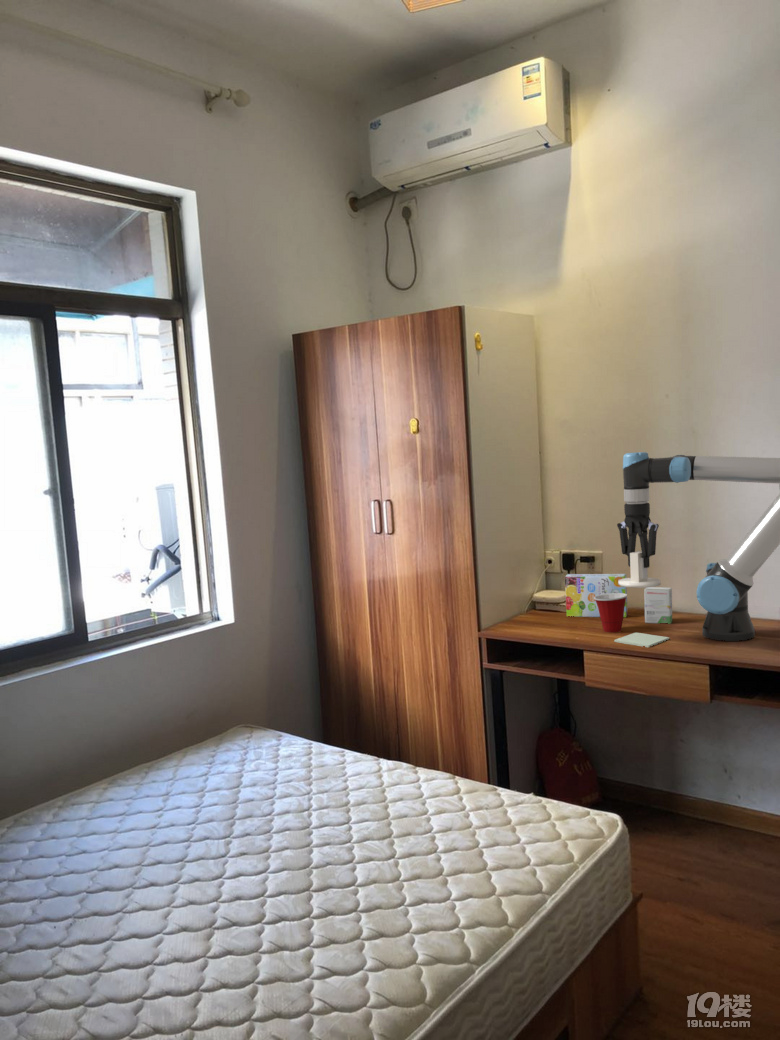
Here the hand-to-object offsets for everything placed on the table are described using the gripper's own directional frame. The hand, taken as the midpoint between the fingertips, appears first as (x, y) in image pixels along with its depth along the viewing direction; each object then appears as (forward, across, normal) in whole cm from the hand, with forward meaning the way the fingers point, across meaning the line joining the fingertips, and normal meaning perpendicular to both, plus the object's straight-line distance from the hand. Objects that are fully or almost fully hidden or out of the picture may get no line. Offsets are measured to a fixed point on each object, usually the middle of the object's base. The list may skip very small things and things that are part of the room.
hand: (639, 577), depth 254 cm
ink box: (+20, +9, -25) cm, 33 cm away
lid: (+2, 0, 0) cm, 2 cm away
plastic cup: (+20, +15, -6) cm, 26 cm away
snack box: (+20, +32, -22) cm, 44 cm away
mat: (+20, 0, 0) cm, 20 cm away
